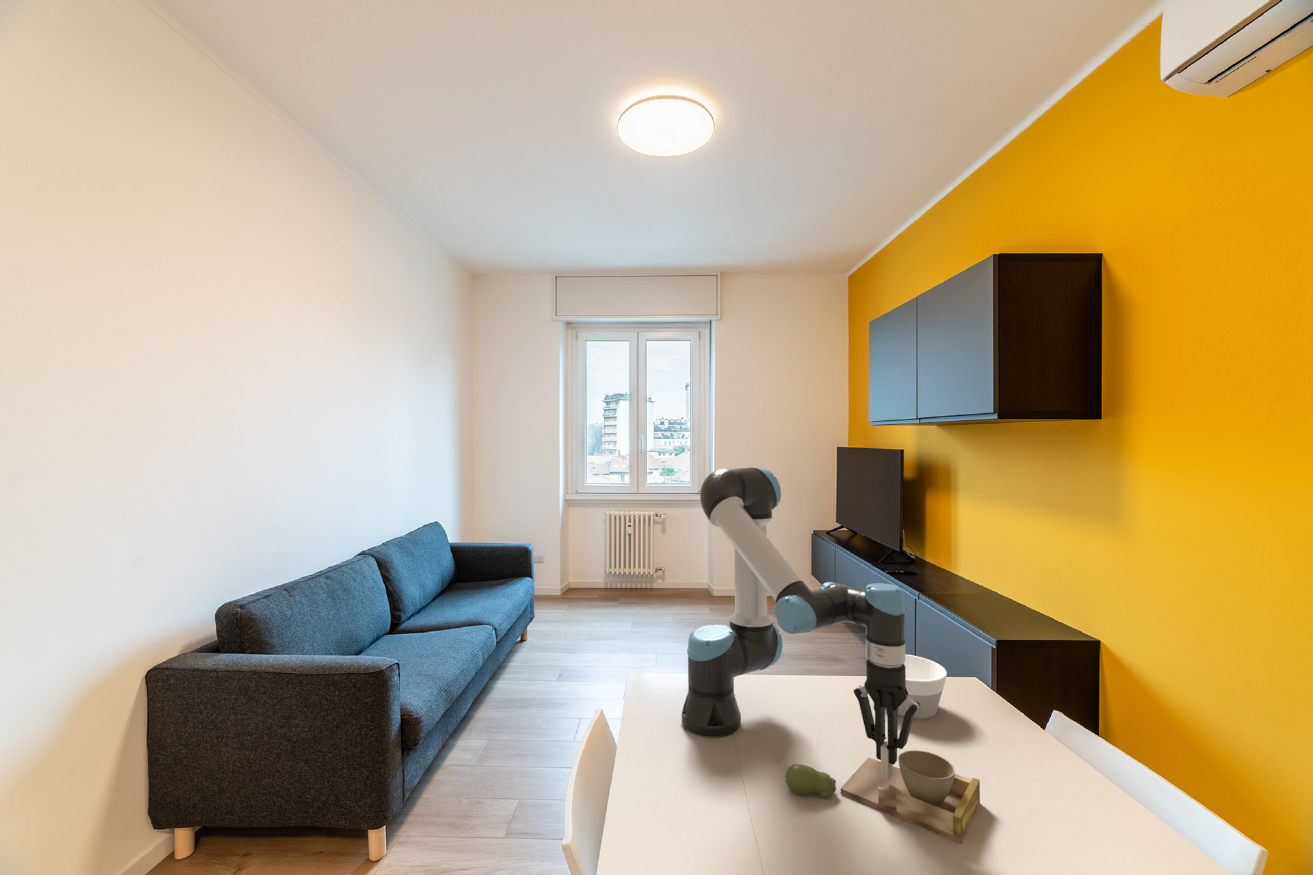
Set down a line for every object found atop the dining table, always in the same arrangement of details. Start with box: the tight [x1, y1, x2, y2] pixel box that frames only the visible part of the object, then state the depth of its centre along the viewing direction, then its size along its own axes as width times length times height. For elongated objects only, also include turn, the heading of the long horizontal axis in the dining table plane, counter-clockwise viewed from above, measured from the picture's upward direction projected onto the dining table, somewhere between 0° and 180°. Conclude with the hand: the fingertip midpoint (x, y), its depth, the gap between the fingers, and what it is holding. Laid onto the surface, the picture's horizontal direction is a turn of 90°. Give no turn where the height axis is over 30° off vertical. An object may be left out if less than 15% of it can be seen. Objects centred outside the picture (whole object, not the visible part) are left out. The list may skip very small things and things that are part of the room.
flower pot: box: [897, 749, 956, 807], centre depth 110 cm, size 10×10×7 cm
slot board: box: [840, 757, 981, 845], centre depth 112 cm, size 22×15×4 cm
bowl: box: [885, 653, 948, 720], centre depth 152 cm, size 19×19×11 cm
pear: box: [785, 763, 837, 799], centre depth 114 cm, size 6×5×10 cm
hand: (886, 776), depth 115 cm, fingers closed
